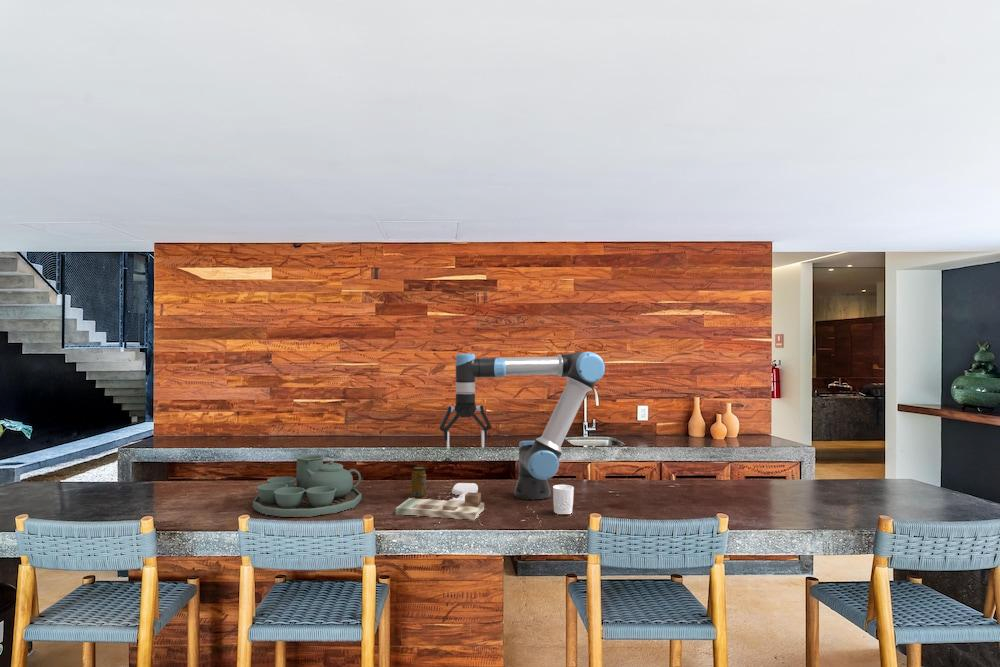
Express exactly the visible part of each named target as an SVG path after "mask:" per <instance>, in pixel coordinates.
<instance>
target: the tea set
mask: <svg viewBox="0 0 1000 667" xmlns="http://www.w3.org/2000/svg"><path fill="white" fill-rule="evenodd" d="M295 458H296V477H294V476H274V477H270V478H267V480H266V483H263V484H259V485H257V486H256V490H257V492H258V494H257V495H256V496H255V498H254V499H253V500H252V508H253V510H254V511H256V512H258V513H259V512H260V513H259V514H261V513H262V514H265V515H264V516H267V515H276V516H314V515H320V514H328V513H337V512H340V511H343V512H345V511H344V510H346V511H348V510H347V509H349V510H351V509H350V508H352V509H355V507H357V506H358V505H359V504H360V503H361V501H362V493H361V492H360V491H359V490H358V489H356V487H358V486H359V485H360V483H361V480H362V476H361V473H360V472H359V471H358V470H357V469H356V468H351V469H349V470H347V469H345V468H344V465H343V464H341V463H338V462H334V461H332V460H331V461H328V462H327V463H324V458H325V455H324V454H317V453H312V454H311V453H310V454H308V453H307V454H300V455H297V456H295ZM352 472H353V473H355V474H356V475H357V477H358V478H357V482H356V483H355V484H354V481H353V480H354V477H353V475H352ZM295 483H296V485H295ZM294 508H295V509H294ZM305 508H306V509H305ZM340 513H341V512H340ZM262 514H261V515H262ZM337 514H338V513H337Z"/></svg>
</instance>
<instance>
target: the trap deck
mask: <svg viewBox="0 0 1000 667" xmlns="http://www.w3.org/2000/svg"><path fill="white" fill-rule="evenodd" d="M484 510H485V502H481V504H480V505H479V506H478V507H469V506H465V502H463V501H450V500H443V499H432V498H428V499H416V498H410V497H408V499H406V500H405V501H403V502H402V503H401V504H399V505H397V507H395V516H404V515H417V516H416V517H419V516H429V517H428V518H433V517H441V518H440V519H448V518H454V519H453V520H462V519H469V520H468V521H476V520H477V519H478V518H479V517H480V515H481V514H482V513H483V511H484ZM481 512H482V513H481ZM480 513H481V514H480ZM479 514H480V515H479ZM476 518H477V519H476ZM475 519H476V520H475Z"/></svg>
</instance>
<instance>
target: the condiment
mask: <svg viewBox="0 0 1000 667" xmlns="http://www.w3.org/2000/svg"><path fill="white" fill-rule="evenodd" d="M410 478H411V481H410V482H411V483H410V484H411V486H410V495H411V497H415V498H422V497H425V495H426V494H427V493H426V492H427V474H426V467H424V466H414V467H412V474H411V476H410ZM426 496H427V495H426ZM425 498H426V497H425Z"/></svg>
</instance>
